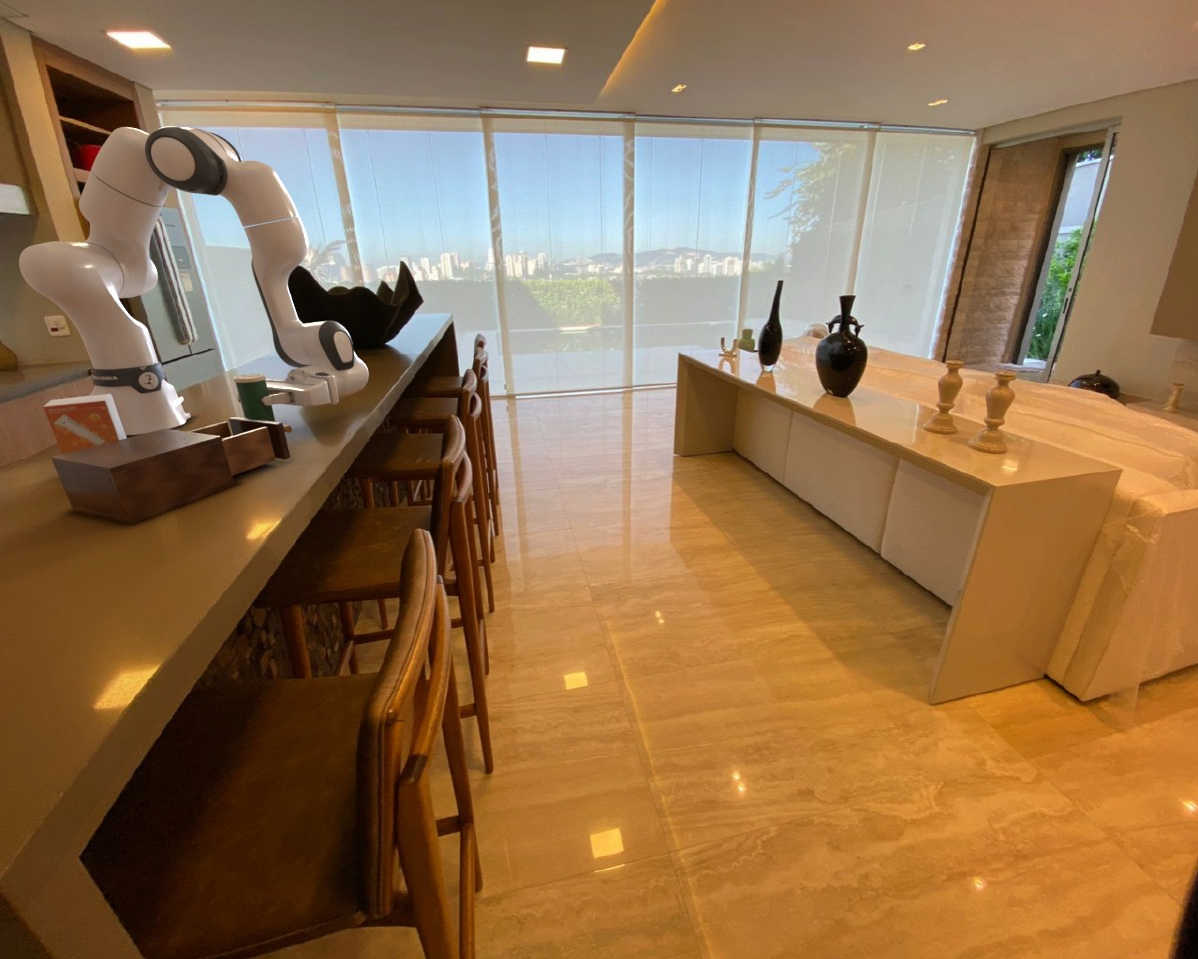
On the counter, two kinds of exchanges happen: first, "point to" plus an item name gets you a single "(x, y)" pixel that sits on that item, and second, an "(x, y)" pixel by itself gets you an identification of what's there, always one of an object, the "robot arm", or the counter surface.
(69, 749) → the counter surface
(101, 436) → the small box
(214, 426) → the drawer
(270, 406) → the ball tube
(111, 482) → the cabinet
